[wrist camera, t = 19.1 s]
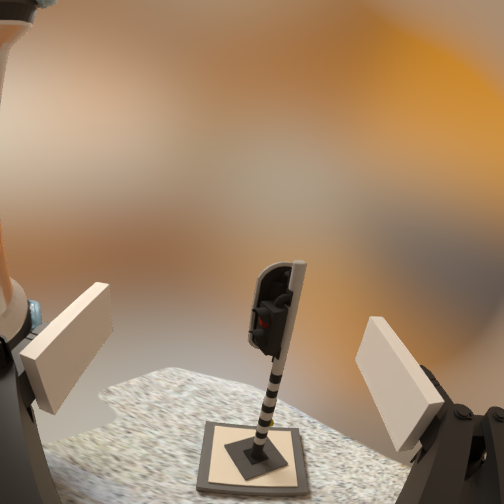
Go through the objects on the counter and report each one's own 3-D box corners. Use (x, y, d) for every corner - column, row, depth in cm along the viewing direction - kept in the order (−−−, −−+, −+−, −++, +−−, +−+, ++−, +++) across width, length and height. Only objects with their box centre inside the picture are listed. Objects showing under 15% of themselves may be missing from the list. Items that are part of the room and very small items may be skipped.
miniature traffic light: (262, 431, 41) (303, 247, 33) (287, 464, 35) (352, 272, 26) (218, 444, 37) (241, 248, 29) (241, 481, 31) (285, 278, 23)
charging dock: (196, 490, 30) (196, 485, 29) (205, 425, 42) (206, 419, 42) (306, 495, 30) (309, 491, 30) (296, 432, 43) (298, 427, 42)
